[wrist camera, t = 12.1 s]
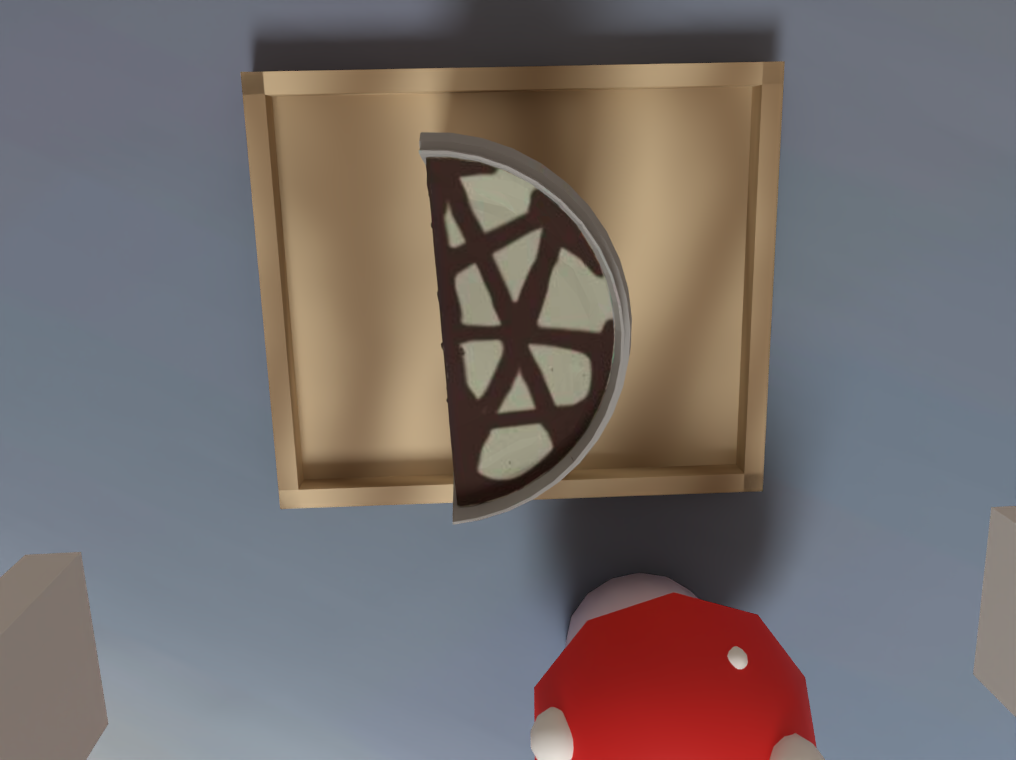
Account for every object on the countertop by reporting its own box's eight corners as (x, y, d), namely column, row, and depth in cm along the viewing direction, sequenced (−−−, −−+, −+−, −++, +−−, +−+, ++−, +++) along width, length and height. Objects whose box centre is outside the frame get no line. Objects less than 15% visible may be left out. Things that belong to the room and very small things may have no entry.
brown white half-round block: (603, 429, 38) (650, 524, 28) (457, 440, 38) (454, 540, 28) (590, 125, 35) (637, 115, 25) (431, 137, 34) (416, 130, 25)
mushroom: (519, 742, 42) (538, 968, 30) (516, 525, 39) (537, 682, 28) (744, 733, 42) (848, 953, 31) (757, 518, 40) (876, 669, 28)
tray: (288, 492, 38) (280, 508, 37) (252, 76, 34) (240, 71, 32) (749, 476, 39) (762, 491, 37) (768, 66, 35) (784, 61, 33)
